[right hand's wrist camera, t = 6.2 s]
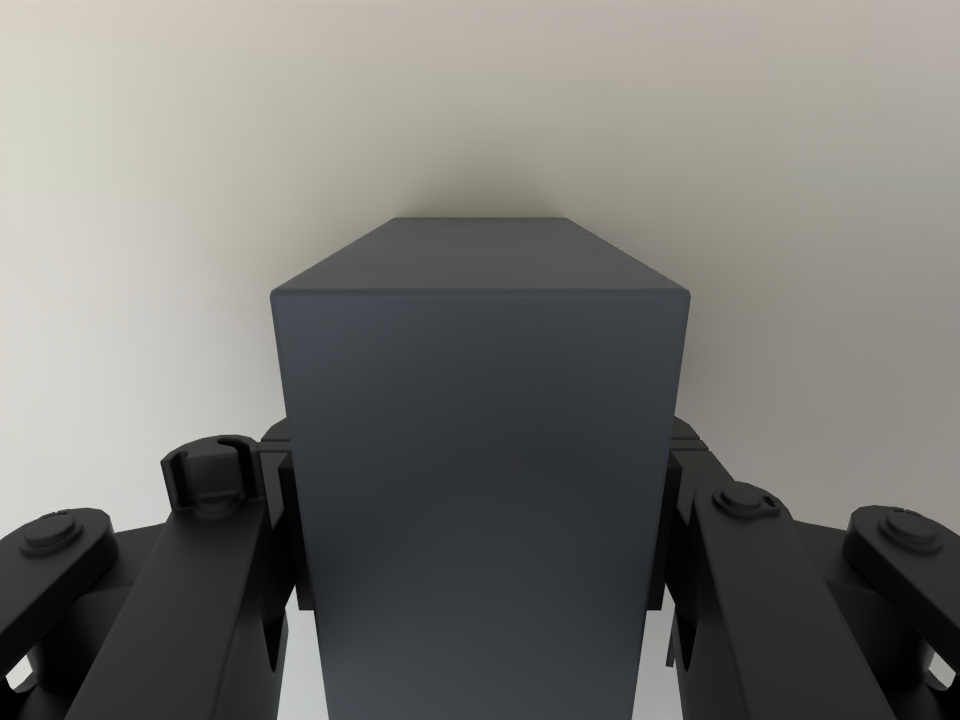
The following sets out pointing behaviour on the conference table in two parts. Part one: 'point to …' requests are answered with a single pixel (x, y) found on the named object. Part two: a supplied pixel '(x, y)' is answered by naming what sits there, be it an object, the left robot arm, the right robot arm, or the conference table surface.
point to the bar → (480, 465)
